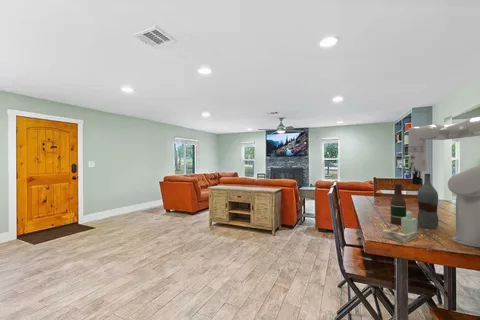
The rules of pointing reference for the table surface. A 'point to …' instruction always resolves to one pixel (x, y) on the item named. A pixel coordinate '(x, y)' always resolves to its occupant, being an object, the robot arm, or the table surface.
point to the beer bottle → (397, 205)
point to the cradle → (399, 235)
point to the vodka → (427, 205)
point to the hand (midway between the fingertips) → (416, 184)
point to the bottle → (408, 223)
